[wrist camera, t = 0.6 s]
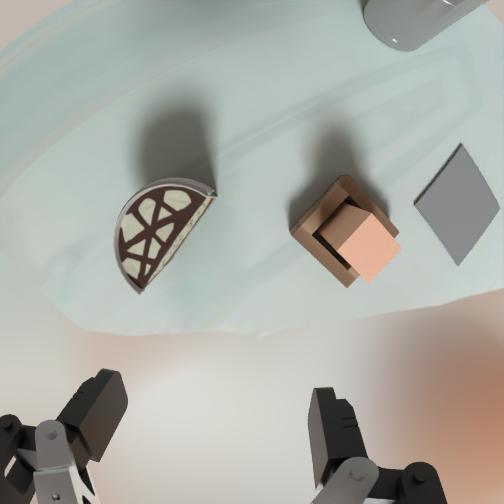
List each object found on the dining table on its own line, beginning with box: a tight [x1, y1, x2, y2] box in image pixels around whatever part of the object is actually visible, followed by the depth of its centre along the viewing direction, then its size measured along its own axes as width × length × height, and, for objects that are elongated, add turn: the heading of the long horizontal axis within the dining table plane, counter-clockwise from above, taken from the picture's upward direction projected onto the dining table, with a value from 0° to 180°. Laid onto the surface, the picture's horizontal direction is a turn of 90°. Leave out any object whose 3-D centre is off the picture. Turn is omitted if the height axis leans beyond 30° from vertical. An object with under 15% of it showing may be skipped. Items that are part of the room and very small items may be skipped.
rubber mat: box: [414, 145, 500, 266], centre depth 32 cm, size 12×12×1 cm
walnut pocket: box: [289, 175, 399, 288], centre depth 33 cm, size 9×9×3 cm
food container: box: [114, 177, 217, 294], centre depth 29 cm, size 12×6×10 cm, turn 142°
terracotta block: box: [317, 202, 402, 283], centre depth 29 cm, size 4×4×10 cm
